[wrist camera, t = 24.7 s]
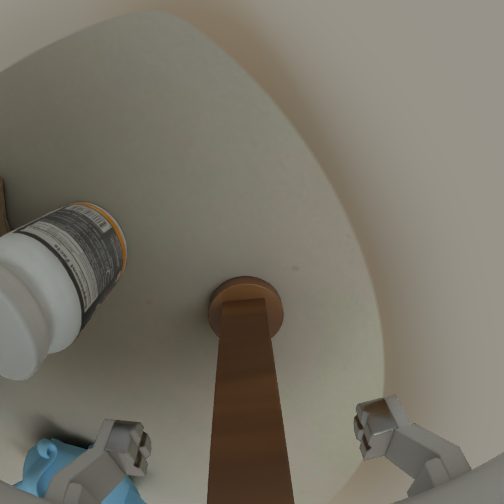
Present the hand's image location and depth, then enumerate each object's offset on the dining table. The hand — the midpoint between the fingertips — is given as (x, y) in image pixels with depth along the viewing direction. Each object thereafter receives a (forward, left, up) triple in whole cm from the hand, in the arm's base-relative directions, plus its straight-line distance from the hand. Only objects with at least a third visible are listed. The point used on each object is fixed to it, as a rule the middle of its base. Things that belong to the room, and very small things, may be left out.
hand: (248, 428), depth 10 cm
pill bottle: (-5, -9, -10) cm, 14 cm away
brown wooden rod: (0, 0, -9) cm, 9 cm away
